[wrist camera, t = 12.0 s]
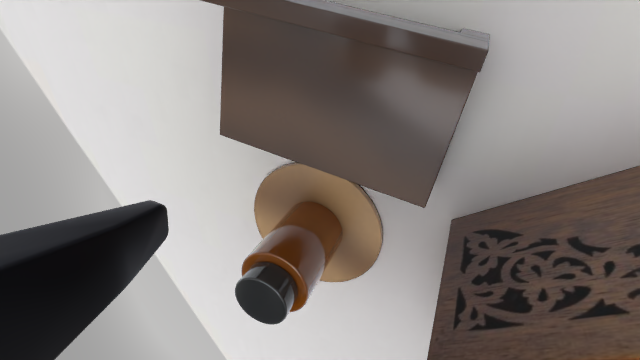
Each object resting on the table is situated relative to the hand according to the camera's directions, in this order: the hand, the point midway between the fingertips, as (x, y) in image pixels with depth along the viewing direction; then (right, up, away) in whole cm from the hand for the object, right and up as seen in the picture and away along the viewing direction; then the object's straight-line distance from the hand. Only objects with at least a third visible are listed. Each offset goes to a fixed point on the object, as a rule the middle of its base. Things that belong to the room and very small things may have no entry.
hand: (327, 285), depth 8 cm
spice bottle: (-1, -1, +16) cm, 16 cm away
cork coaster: (0, -1, +16) cm, 16 cm away
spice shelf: (+1, +7, +12) cm, 14 cm away
